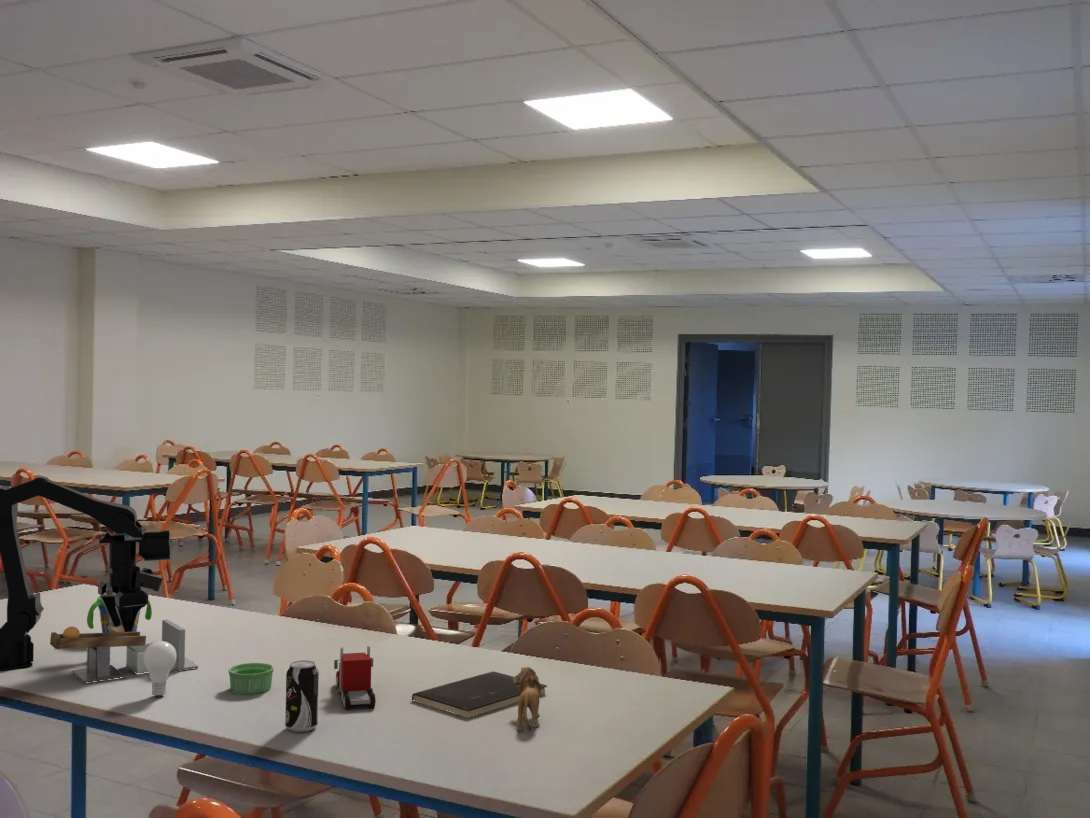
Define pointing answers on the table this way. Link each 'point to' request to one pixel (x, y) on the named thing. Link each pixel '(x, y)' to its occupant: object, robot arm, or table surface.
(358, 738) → the table surface
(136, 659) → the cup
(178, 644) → the backboard
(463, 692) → the hardcover book
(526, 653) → the table surface
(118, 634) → the lever
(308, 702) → the beverage can
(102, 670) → the fulcrum
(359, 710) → the table surface
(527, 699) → the lion figurine
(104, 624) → the snack cup
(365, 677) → the toy truck
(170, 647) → the lightbulb
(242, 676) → the ramekin
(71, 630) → the ball
